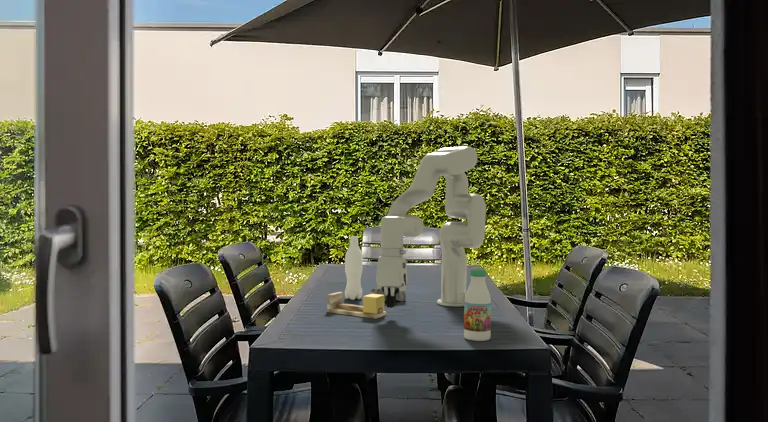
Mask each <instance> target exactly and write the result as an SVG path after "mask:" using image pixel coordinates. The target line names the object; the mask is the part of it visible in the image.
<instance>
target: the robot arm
mask: <svg viewBox="0 0 768 422" xmlns="http://www.w3.org/2000/svg"><path fill="white" fill-rule="evenodd" d="M477 162H478V154H477V151H476V150H475V149H474V148H473V147H471V146H453V147H452V146H450V147H442V148H439V149H437V150H436V151H435V152H431V153H426V154H425V155H424V156H423V157H422V159H421V160H420V163H419V166H418V168H417V170H416V173H415V175H414V177H413V180H412V181H411V184H410V186H409V187H408V188H407V189H406V190H405V191H404V192H402V193H401V194H400V195H399V196H398V197H397V198H396V199H395V200H394V201H393V202H392V204H391V206H390V207H389V210H388V212H387V214H386V215H385V216H382V217H381V219H380V256H378V258H377V259H378V260H377V263H376V264H377V265H376V271H375V272H376V273H375V274H376V277H375V280H376V287H377V288H379V289H381V290H383V292H384V293H385V295H386V301H385V305H386V308H389V309H392V308H395V307H396V304H397V301H396V295H397V294H398V293H399V292H400V291H406V290H407V285H408V281H409V279H408V266H407V260H406V257H404V255H406V254H407V250H405V249H404V237H405V238H416V237H419V236H420V235H421V234H422V233H423V231H424V228H425V226H424V225H425V224H424V221H423V219H421V218H420V217H419V216H417V215H408V214H406V213H407V212H408V211H409V210H410V209H412V208H414V207H415V206H417V205H419V204H422V203H424V202H426V201H428V200H429V199H431V198H432V197H433V195H434V193H435V190H436V188H437V185H438V182H439V180H440V178H441V177H444V178H445V200H444V201H445V202H444V210H445V211H444V212H445V214H446V216H447V217H449V218H453V219H463V220H467V222H466V221H465V222H464V221H448V222H445V223H443V224H442V226H440V229H439V232H438V233H439V240H440V246H441V247H440V248H441V277H440V278H441V283H440V284H441V286H440V288H441V289H440V293H441V294H440V296H441V297H440V298H439V299H437V300H436V303H437V304H438V305H440V306H444V307H453V308H454V307H460V308H462V307H464V303H465V295H466V292H467V267H468V266H467V265H468V264H467V263H468V259H467V255H466V252H465V250H464V248H468V249H478V248H479V247H481V246H482V244H483V243H484V240H485V233H486V232H485V231H486V218H487V217H486V215H487V214H486V212H487V207H486V206H487V205H486V201H485V199H484V198H483V196H482V195H480V194H478V193H469V180H468V177H467V174H466V173H465V172H468V171H470V170H472V169H473V168H475V166H476V165H477ZM391 287H392V289H391ZM399 287H400V288H399Z"/></svg>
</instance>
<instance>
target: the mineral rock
mask: <svg viewBox="0 0 768 422" xmlns="http://www.w3.org/2000/svg"><path fill="white" fill-rule="evenodd" d="M399 288H400V287H399ZM391 289H392V287H391ZM370 291H371V294H380V295H385V293H384V292H383V290H381V289H379V288H377V286H376V287H373V288H372V289H371V290H370ZM405 291H406V290H405ZM405 291H400V292H399V293H398V294H397V295H396V302H397V301H398V302H405V301H406V297H407V296H406V292H405ZM385 302H386V295H385Z"/></svg>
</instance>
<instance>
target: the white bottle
mask: <svg viewBox="0 0 768 422" xmlns="http://www.w3.org/2000/svg"><path fill="white" fill-rule="evenodd" d="M344 259H345V261H344V265H345V266H344V267H345V268H344V273H345V276H346V287H345V290H344V296H345V299H347V300H352V301H354V300H355V299H357V300H361V298H363V294H364V293H363V289H362V285H361V283H362V282H361V281H362V280H361V279H362V274H363V272H364V271H363V270H364V269H363V265H364V264H363V262H364V261H363V260H364V256H363V252H362V250H361V248H360V247H359V236H357V235H350V240H349V246H348V249H347V250H346V253H345V255H344Z"/></svg>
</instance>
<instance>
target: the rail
mask: <svg viewBox="0 0 768 422" xmlns="http://www.w3.org/2000/svg"><path fill="white" fill-rule="evenodd" d="M326 300H327V304H326V306H327V307H326V308H327V309H326V310H327V311H326V312H327V313H332V314H339V315H345V316H346V315H348V316H354V317H361V318H369V319H376V320H377V319H379V318H382V317H385V316H387V311H386V310H384V311H383V308H379V309H378V313H377V314H373V313H365V312H363V305H360V304H359V305H358V304H351V303H345V302H344V292H343V291H337V292H333V293H328V294H327V298H326Z"/></svg>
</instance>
